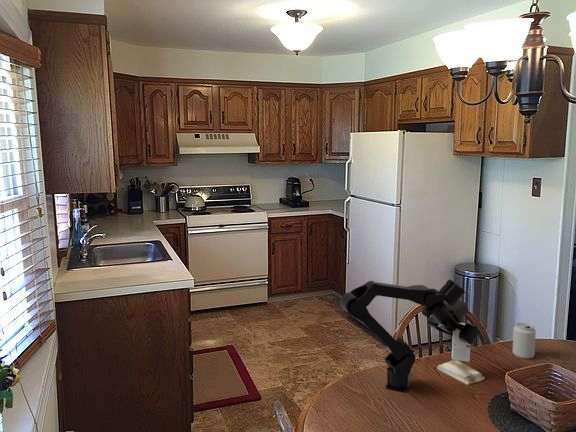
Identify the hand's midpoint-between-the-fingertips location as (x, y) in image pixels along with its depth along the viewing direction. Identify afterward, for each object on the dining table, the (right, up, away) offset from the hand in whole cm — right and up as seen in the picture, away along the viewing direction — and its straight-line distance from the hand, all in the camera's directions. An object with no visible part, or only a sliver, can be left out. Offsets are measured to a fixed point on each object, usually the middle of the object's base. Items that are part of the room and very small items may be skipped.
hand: (464, 339), depth 168 cm
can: (+28, -10, +15) cm, 33 cm away
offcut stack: (-1, -12, +1) cm, 12 cm away
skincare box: (-1, -7, 0) cm, 7 cm away
